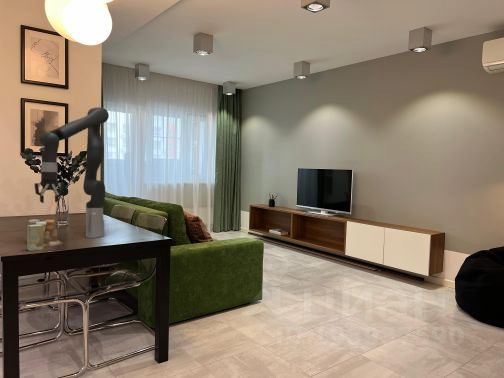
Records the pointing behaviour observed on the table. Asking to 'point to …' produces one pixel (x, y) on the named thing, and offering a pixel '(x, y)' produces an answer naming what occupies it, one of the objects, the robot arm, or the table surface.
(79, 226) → the table surface
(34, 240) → the skincare box
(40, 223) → the white plug
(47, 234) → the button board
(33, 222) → the white plug
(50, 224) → the rust plug
